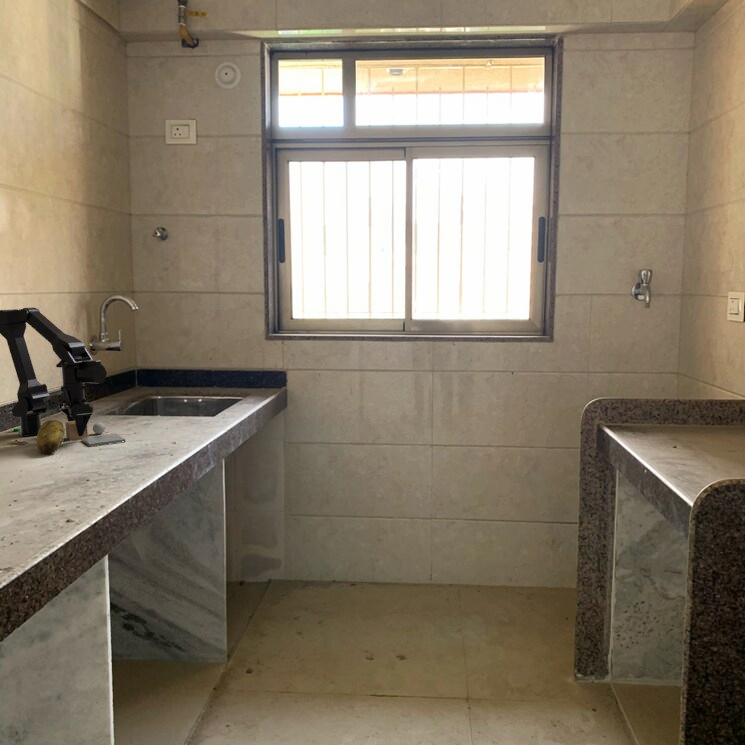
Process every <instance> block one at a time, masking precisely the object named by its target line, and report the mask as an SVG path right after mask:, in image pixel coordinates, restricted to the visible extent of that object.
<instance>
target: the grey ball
mask: <svg viewBox="0 0 745 745" xmlns="http://www.w3.org/2000/svg"><path fill="white" fill-rule="evenodd" d="M105 426H106V425H105V424H104V423H103V422H96V423H94V424H93V426H92V431H93V432H94V433H95V434H97V435H101V434H103V433H104V432H105V430H106V427H105Z"/></svg>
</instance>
